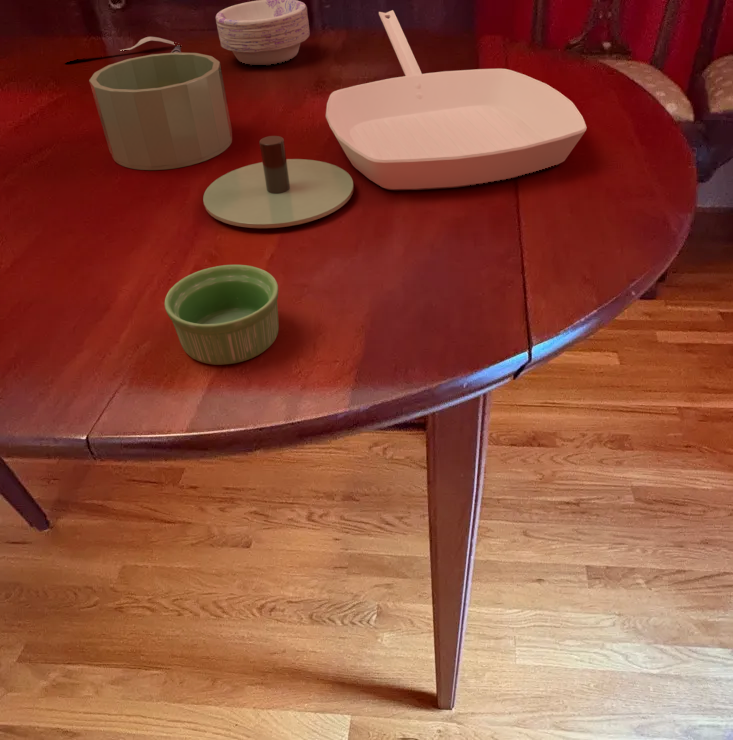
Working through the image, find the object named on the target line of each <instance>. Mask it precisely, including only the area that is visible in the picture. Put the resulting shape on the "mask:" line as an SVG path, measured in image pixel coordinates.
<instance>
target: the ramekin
mask: <svg viewBox="0 0 733 740" xmlns="http://www.w3.org/2000/svg"><path fill="white" fill-rule="evenodd" d="M278 298H279V285H278V282H277V280H276V278H275V277H274V276H273V275H272V274H271V273H270V272H268V271H266V270H264V269H262V268H260V267H256V266H253V265H247V264H223V265H216V266H212V267H208V268H203V269H201V270H198V271H195V272H193V273H191V274H188V275H187V276H185V277H183V278H181V279H180V280H179V281H176V283H175V284H174V285H173V286H172V287H171V288H169V290H168V292H167V293H166V295H165V298H164V309H165V312H166V314H167V315H168V317H169V319H170V320H171V322H172V324H173V327H174V330H175V332H176V335H177V337H178V340H179V343H180V345H181V347H182V350H183V351H184V353H186V355H187V356H189V357H190V358H191V359H193V360H195V361H198V362H200V363H204V364H208V365H214V366H215V365H217V366H224V365H225V366H227V365H232V364H238V363H239V364H240V363H242V362H246V361H248V360H252V359H253V358H255V357H257V356H259V355H261V354H263V353H264V352H265V351H267V350H268V349H269V348H270V347H271V346H272V345H273V344H274V342H275V341H276V339H277V337H278V335H279V328H280V327H279V325H280V324H279V308H278V307H279V306H278Z"/></svg>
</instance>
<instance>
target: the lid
mask: <svg viewBox="0 0 733 740" xmlns="http://www.w3.org/2000/svg"><path fill="white" fill-rule="evenodd" d="M259 149H260V156H261V162H256V163H252V164H248V165H245V166H244V165H243V166H242V167H239V168H235V169H234V170H231V171H228V172H227V173H225V174H223V175H221V176H219V177H218V178H216V179H215V180H214V181H213V182H211V183H210V184H209V185H208V186H207V188H206V189H205V191H204V193H203V196H202V202H203V207H204V209H205V211H206V212H207V213H208V215H210V216H211V217H212V218H214V219H215V220H217V221H219V222H222V223H223V224H228V225H231V226H234V227H241V228H249V229H277V228H285V227H286V228H287V227H292V226H298V225H303V224H306V223H310V222H313V221H317V220H318V219H319V220H320V219H322V218H324V217H327V216H329V215H331V214H332V213H335V212H336V211H338V210H339V209H341V208H342V207H343V206H345V205H346V204H347V203H348V202H349V200H351V198H352V195H353V193H354V191H355V188H354V187H355V186H354V180H353V178H352V176H351V175H350V174H349V172H347V170H345V169H343V168H341V167H340V166H338V165H335V164H332V163H329V162H326V161H322V160H321V161H320V160H314V159H306V158H305V159H303V158H287V153H286V147H285V139H284V137H282V136H280V135H268V136H265V137H262V138H260V139H259Z"/></svg>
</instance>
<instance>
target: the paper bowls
mask: <svg viewBox="0 0 733 740" xmlns="http://www.w3.org/2000/svg"><path fill="white" fill-rule="evenodd" d="M215 23H216V30H217V34H218V38H219V41H220V47H221V48H222V49H225V50H227V51H231V52H232V53H233V56H234V57H235V58H236V59H237V61H238V62H239V63H241V62H242V63H241V64H243V63H245V64H244V65H246V64H250V65H249V66H252V65H266V66H272V65H271V64H274V65H278V64H277V63H279V64H283V63H286V62H288V61H290V59H291V60H292V59H294V58H295V57H296V56H297V55H298V53H299V50H300V48H301V44H302V43H303V42H305V41H306V40H307V39H308V38H309V37H310V36H311V35H310V25H309V24H310V23H309V15H308V7H307V5H306V4H305V2H303V1H301V0H252V1H247V2H242V3H238V4H234V5H231V6H228V7H225V8H224V9H221V10H219V11H218V12H217V13H216V15H215ZM285 61H286V62H285ZM282 62H283V63H282Z"/></svg>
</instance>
